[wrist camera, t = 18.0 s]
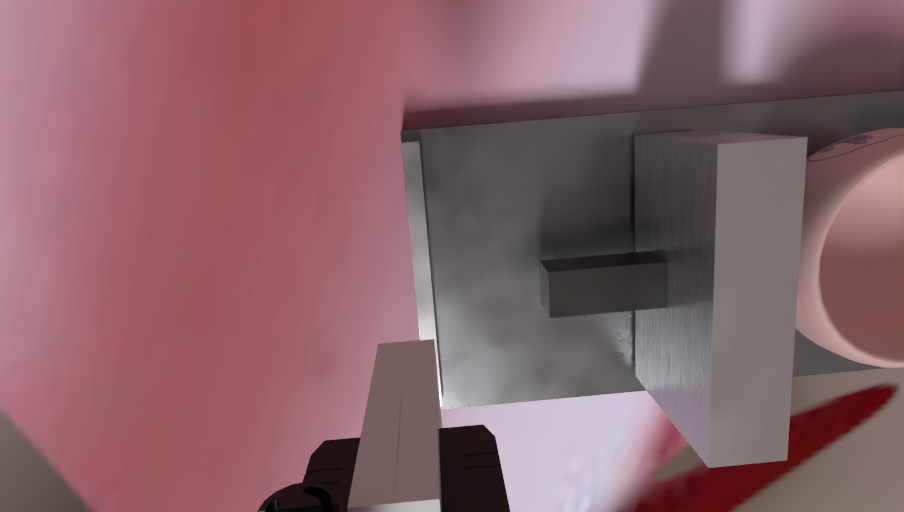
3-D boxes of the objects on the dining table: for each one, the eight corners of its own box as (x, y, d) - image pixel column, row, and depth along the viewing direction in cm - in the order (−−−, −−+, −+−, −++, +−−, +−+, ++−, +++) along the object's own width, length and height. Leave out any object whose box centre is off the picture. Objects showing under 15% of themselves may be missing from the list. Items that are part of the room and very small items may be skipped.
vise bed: (401, 130, 28) (391, 139, 19) (1016, 80, 29) (1279, 67, 20) (427, 399, 32) (428, 513, 23) (978, 348, 32) (1189, 438, 24)
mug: (903, 90, 28) (1028, 85, 22) (946, 278, 30) (1070, 318, 24) (661, 194, 28) (721, 215, 23) (722, 370, 31) (790, 430, 25)
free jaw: (525, 143, 27) (566, 157, 19) (699, 129, 27) (807, 137, 20) (537, 385, 30) (576, 480, 22) (693, 370, 30) (787, 460, 23)
